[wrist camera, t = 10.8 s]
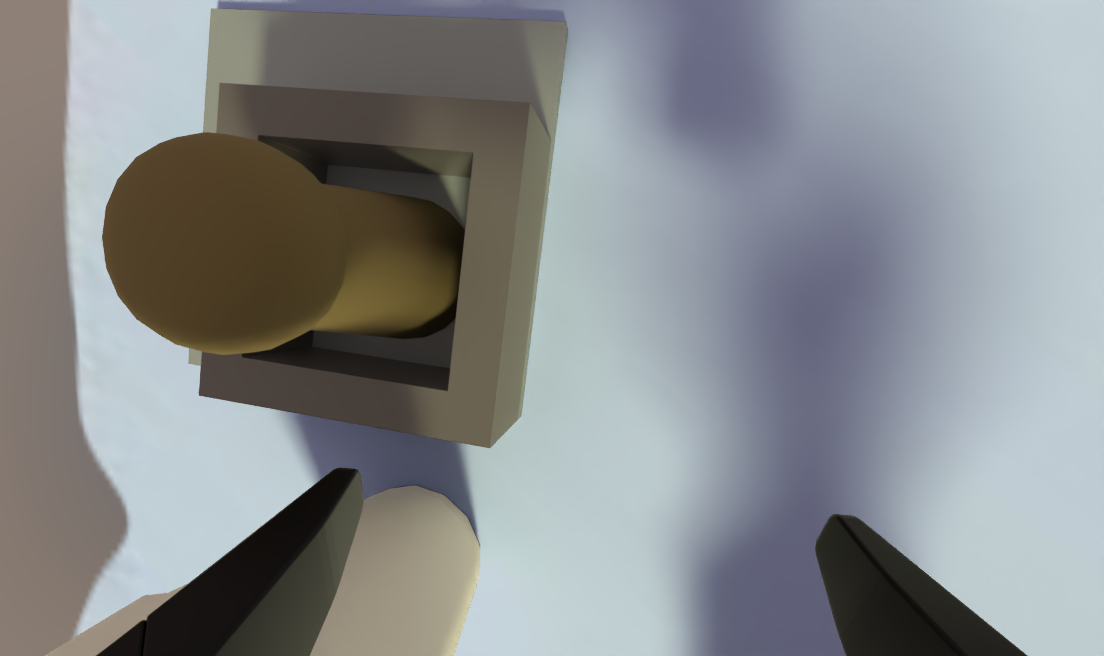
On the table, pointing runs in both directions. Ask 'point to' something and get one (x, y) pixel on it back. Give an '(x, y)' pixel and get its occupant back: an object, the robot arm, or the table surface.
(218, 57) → the socket
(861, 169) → the table surface
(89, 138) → the table surface
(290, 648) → the robot arm
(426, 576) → the foam cup
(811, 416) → the table surface
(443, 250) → the cork
